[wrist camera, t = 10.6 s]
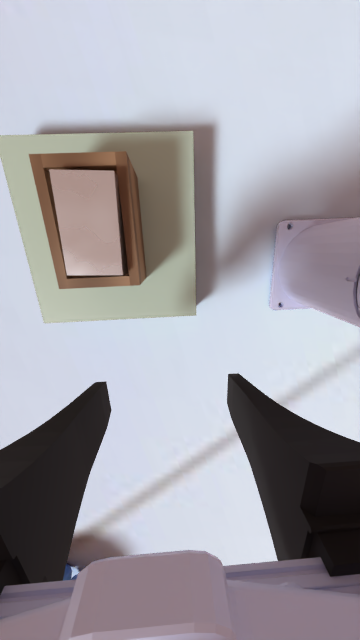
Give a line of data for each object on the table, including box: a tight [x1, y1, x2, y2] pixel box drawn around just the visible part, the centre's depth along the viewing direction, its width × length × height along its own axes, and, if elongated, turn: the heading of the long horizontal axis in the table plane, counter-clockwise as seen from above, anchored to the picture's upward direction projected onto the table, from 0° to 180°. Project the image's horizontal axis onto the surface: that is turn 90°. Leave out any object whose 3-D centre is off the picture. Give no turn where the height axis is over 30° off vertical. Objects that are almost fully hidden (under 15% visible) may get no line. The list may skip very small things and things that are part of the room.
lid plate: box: [49, 169, 128, 275], centre depth 12 cm, size 3×5×2 cm, turn 0°
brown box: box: [29, 151, 147, 289], centre depth 14 cm, size 5×7×4 cm
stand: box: [0, 131, 196, 323], centre depth 17 cm, size 13×13×2 cm
